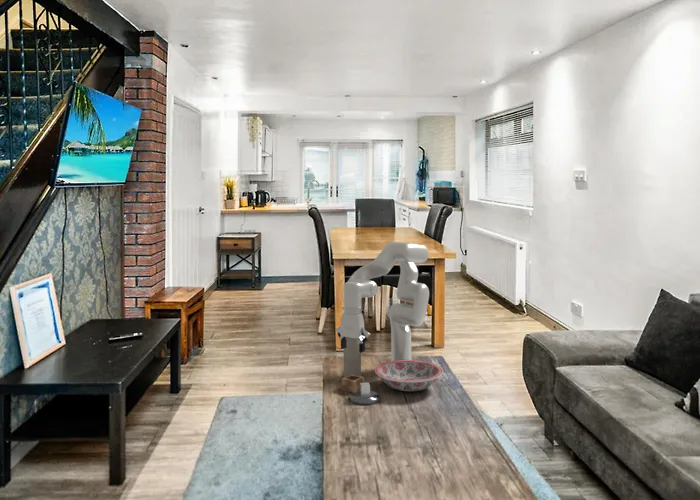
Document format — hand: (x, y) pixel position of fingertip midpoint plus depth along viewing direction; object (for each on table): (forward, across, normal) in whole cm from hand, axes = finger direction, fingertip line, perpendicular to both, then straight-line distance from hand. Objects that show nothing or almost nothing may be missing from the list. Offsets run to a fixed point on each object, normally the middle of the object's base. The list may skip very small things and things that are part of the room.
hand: (352, 350), depth 241 cm
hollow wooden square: (+17, 0, +1) cm, 17 cm away
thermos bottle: (+17, -10, +13) cm, 24 cm away
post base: (+18, +11, -6) cm, 22 cm away
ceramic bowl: (+17, +19, +15) cm, 30 cm away
